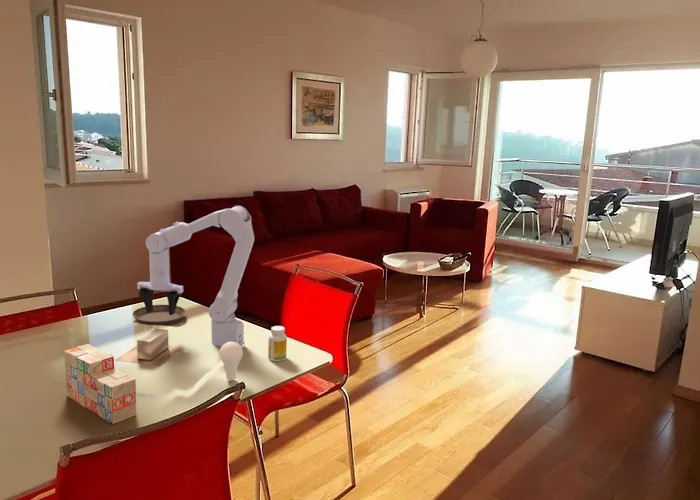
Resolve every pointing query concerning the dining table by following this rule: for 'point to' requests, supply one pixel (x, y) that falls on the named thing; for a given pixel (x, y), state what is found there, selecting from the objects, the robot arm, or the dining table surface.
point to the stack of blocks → (99, 383)
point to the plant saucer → (159, 315)
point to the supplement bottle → (277, 344)
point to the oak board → (161, 359)
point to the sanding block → (152, 345)
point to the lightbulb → (231, 358)
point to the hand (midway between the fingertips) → (160, 312)
